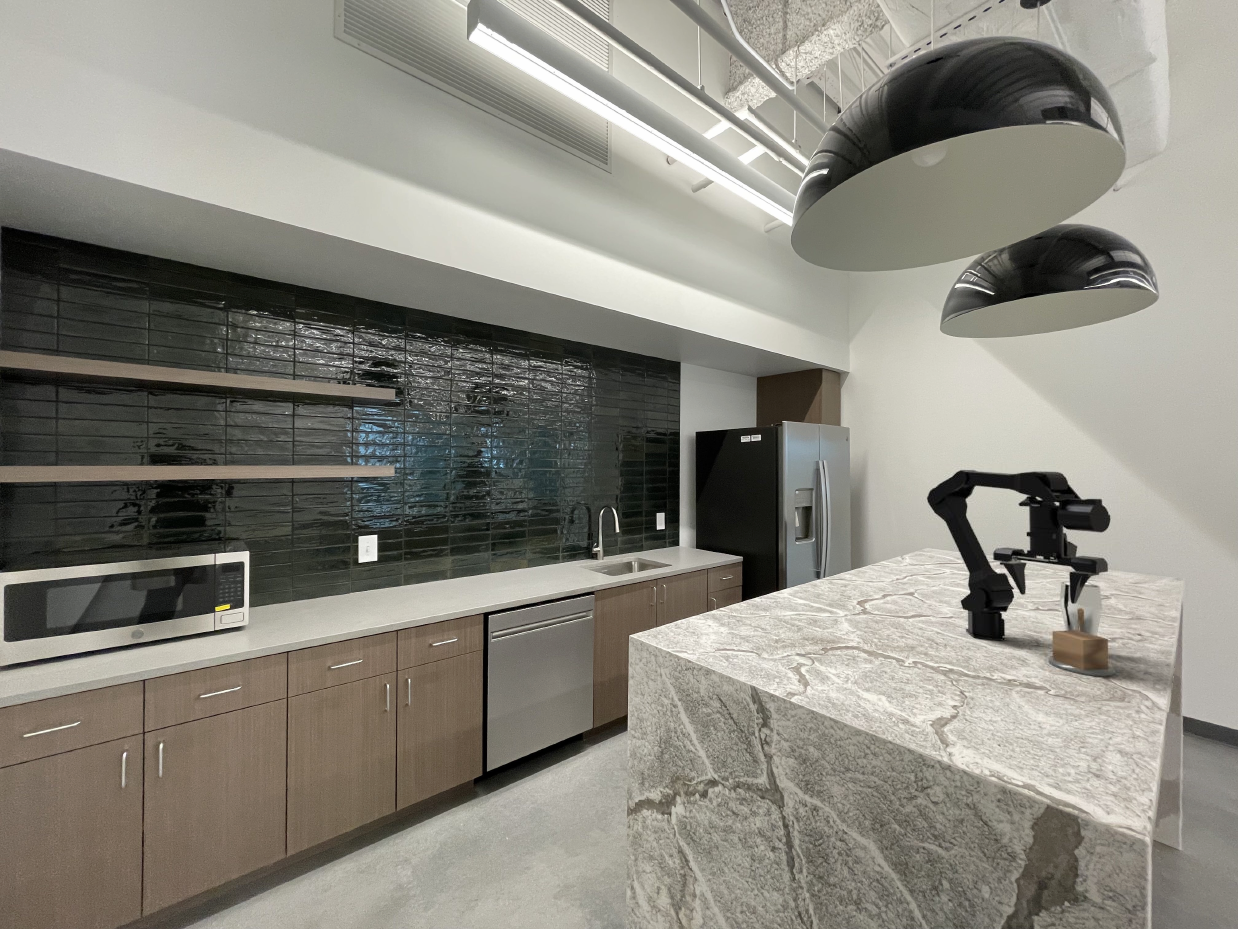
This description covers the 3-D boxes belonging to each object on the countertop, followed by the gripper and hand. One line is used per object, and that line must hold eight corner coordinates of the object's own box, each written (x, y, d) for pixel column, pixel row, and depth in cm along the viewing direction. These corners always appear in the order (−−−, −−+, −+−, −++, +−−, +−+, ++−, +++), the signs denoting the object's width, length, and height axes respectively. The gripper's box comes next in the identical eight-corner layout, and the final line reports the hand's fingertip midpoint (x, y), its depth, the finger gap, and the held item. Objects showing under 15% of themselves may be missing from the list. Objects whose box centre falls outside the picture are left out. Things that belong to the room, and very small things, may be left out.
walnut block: (1083, 670, 99) (1082, 640, 100) (1052, 659, 105) (1052, 631, 105) (1108, 669, 100) (1107, 639, 101) (1076, 658, 106) (1076, 630, 106)
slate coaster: (1063, 672, 100) (1063, 669, 100) (1039, 656, 109) (1039, 653, 109) (1127, 679, 96) (1126, 676, 96) (1096, 662, 106) (1096, 659, 106)
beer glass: (1098, 658, 108) (1097, 588, 109) (1057, 649, 114) (1055, 583, 114) (1106, 652, 112) (1104, 585, 113) (1065, 643, 118) (1064, 580, 118)
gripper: (1119, 530, 105) (1120, 604, 105) (1017, 523, 122) (1018, 587, 122) (1094, 532, 101) (1095, 610, 100) (991, 524, 117) (992, 591, 117)
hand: (1047, 598), depth 110 cm, fingers open, 9 cm apart
